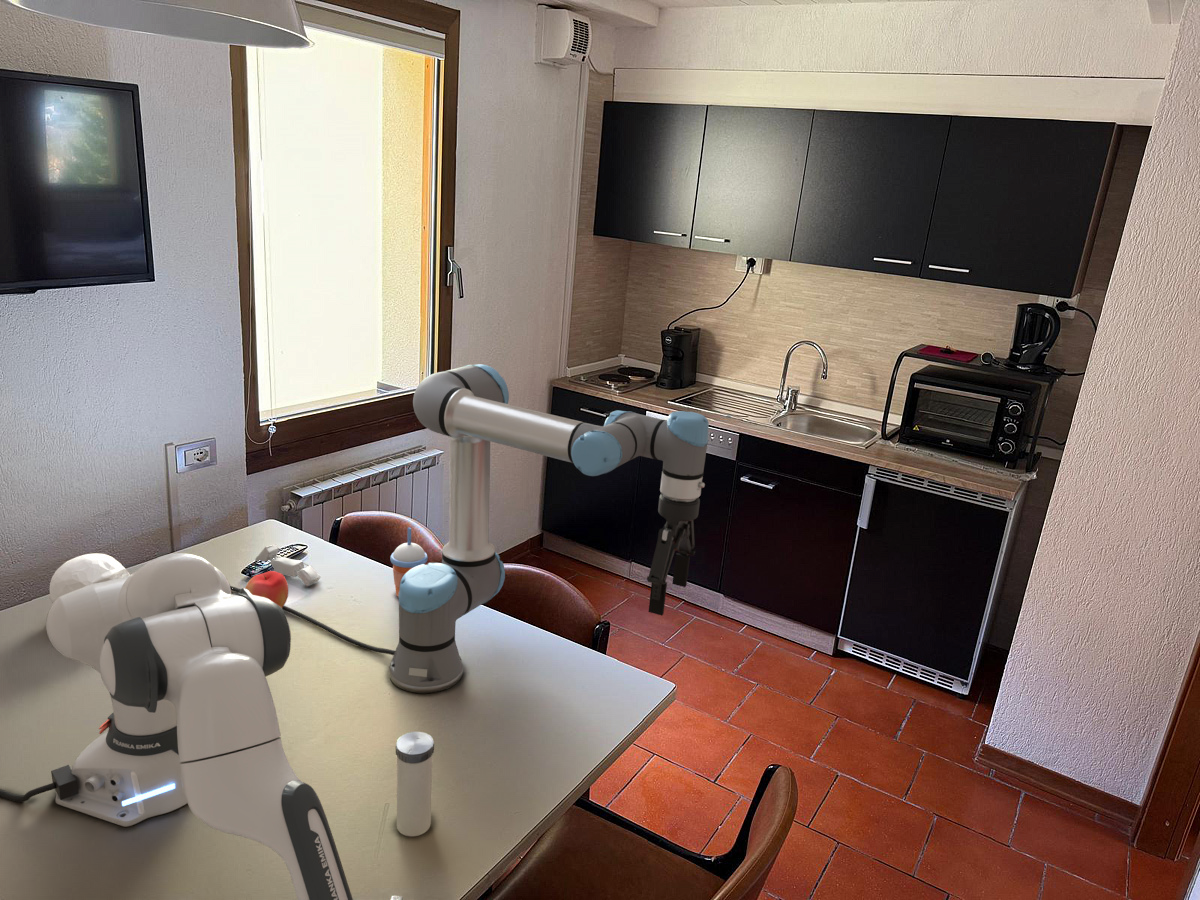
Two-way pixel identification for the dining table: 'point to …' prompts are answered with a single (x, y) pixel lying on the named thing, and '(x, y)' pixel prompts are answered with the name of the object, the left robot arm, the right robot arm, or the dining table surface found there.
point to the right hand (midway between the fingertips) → (668, 598)
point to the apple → (269, 587)
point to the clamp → (288, 565)
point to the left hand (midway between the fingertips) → (365, 893)
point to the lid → (415, 747)
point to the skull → (85, 573)
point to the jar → (414, 797)
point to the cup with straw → (406, 559)
